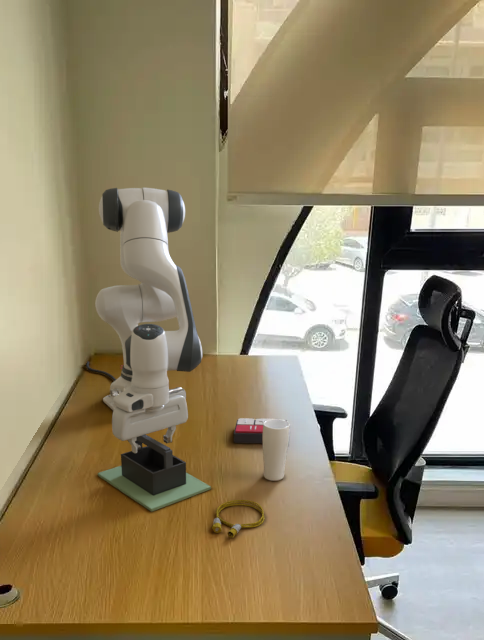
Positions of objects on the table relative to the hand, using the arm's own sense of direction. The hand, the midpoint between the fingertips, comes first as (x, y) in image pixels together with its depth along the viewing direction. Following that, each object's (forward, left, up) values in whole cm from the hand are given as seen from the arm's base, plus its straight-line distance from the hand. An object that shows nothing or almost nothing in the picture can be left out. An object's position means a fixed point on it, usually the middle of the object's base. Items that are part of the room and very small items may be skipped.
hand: (152, 447), depth 170 cm
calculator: (-4, +41, -10) cm, 43 cm away
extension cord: (+27, +4, -10) cm, 29 cm away
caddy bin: (0, 0, -9) cm, 9 cm away
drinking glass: (+17, +26, -10) cm, 33 cm away
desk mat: (0, 0, -10) cm, 10 cm away
